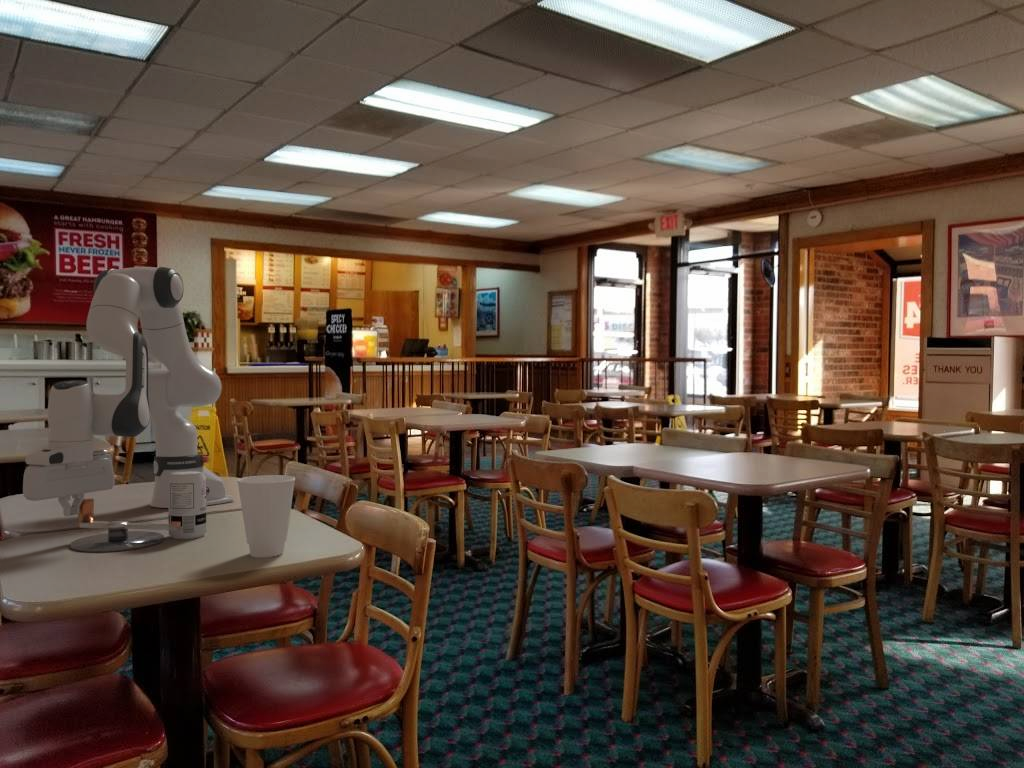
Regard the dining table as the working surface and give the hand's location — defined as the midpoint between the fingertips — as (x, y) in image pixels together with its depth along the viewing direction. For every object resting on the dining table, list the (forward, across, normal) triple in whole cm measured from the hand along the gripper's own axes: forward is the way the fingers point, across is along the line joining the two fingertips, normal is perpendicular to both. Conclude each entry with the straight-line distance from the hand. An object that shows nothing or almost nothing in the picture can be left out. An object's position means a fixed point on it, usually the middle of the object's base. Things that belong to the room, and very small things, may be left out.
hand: (71, 515), depth 181 cm
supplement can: (+7, -17, +17) cm, 25 cm away
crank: (+3, -6, +10) cm, 13 cm away
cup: (+7, -12, +46) cm, 48 cm away
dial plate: (+7, -6, +8) cm, 12 cm away
